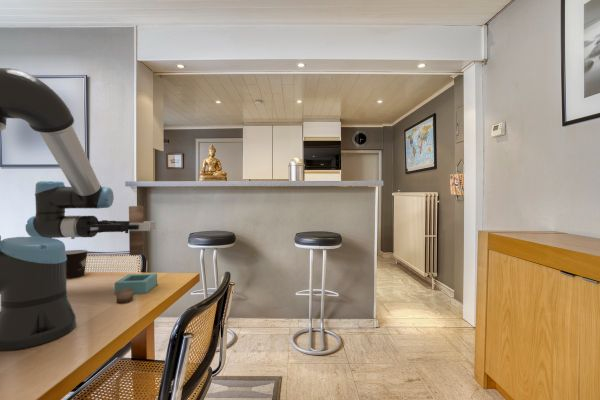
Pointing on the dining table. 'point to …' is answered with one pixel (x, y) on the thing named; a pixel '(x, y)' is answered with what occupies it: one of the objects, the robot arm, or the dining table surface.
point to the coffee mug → (75, 263)
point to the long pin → (136, 236)
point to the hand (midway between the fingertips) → (152, 225)
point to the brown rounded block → (124, 296)
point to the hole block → (137, 283)
